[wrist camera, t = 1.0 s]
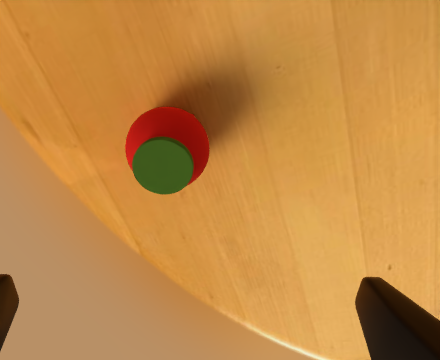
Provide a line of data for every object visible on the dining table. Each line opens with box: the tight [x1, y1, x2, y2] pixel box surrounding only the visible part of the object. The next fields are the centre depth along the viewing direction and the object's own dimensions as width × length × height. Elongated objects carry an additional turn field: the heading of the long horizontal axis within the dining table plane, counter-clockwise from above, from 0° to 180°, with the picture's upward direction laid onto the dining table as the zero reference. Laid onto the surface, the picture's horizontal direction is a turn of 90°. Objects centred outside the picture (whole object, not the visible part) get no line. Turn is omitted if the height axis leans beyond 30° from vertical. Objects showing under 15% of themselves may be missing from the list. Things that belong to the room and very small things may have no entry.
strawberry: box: [125, 107, 209, 194], centre depth 16 cm, size 4×4×4 cm
